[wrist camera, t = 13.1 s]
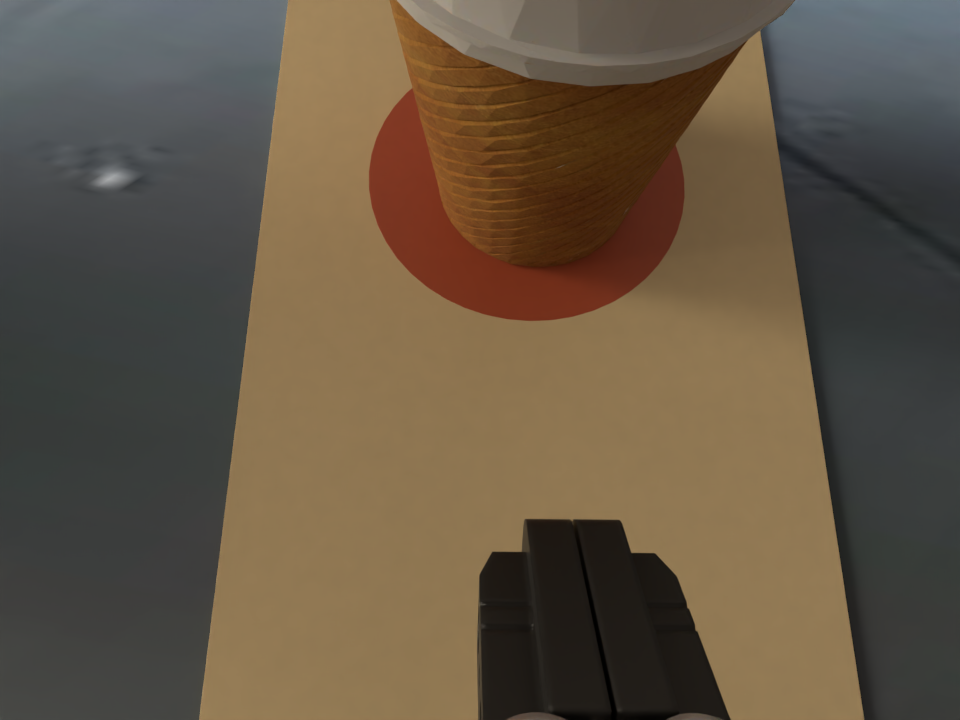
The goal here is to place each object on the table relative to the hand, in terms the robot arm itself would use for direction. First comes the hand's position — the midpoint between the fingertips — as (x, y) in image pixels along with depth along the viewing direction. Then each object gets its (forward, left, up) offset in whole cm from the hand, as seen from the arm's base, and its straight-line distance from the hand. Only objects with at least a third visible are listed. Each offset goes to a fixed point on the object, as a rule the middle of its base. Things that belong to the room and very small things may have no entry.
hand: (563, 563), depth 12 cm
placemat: (0, +13, -9) cm, 16 cm away
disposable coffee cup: (+1, +13, -9) cm, 16 cm away
